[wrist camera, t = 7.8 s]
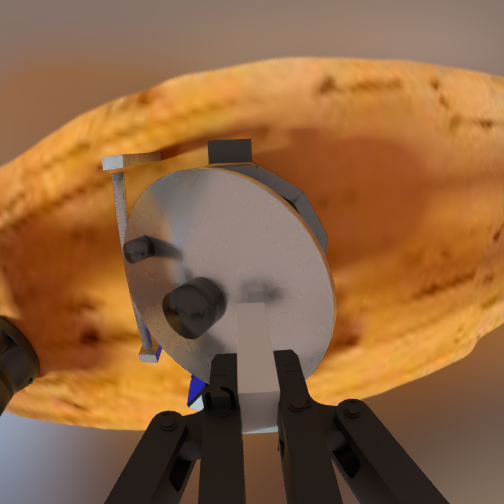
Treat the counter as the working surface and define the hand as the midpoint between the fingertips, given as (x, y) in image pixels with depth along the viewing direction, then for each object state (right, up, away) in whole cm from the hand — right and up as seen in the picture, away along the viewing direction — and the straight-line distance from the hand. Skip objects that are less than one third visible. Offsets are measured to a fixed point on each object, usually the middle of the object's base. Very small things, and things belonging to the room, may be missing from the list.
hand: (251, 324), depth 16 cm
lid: (-3, +2, +4) cm, 5 cm away
